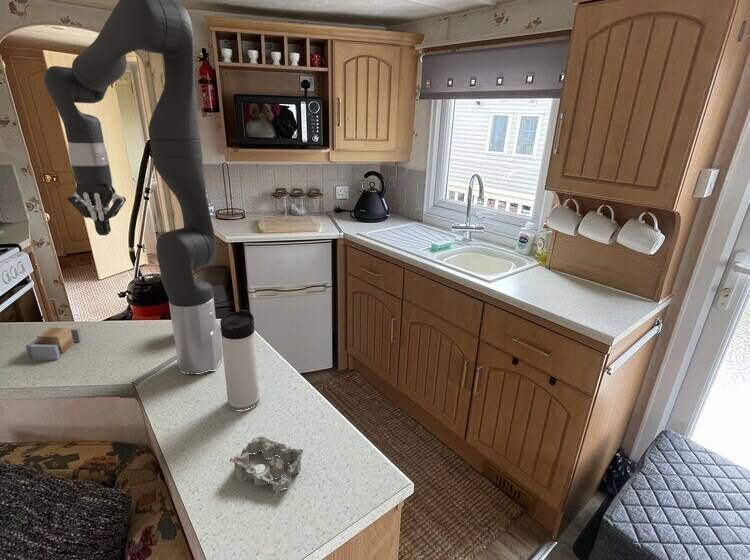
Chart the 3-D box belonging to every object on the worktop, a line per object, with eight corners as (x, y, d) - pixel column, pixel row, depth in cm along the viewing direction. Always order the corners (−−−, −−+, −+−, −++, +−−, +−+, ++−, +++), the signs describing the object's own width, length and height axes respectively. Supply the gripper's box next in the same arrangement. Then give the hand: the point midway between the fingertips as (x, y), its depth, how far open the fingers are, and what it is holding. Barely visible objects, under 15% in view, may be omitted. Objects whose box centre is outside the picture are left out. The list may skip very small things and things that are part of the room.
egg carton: (228, 478, 69) (225, 459, 68) (255, 448, 76) (254, 430, 75) (283, 499, 66) (282, 480, 65) (307, 465, 73) (306, 447, 71)
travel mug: (265, 395, 90) (260, 311, 83) (249, 415, 84) (242, 326, 77) (240, 390, 91) (232, 307, 84) (221, 408, 85) (212, 320, 78)
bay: (82, 340, 108) (79, 328, 107) (57, 359, 99) (54, 346, 98) (56, 339, 108) (53, 327, 107) (29, 359, 99) (25, 346, 98)
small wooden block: (75, 344, 106) (71, 326, 104) (61, 356, 101) (56, 338, 99) (55, 344, 106) (50, 326, 104) (39, 355, 101) (34, 337, 99)
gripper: (127, 162, 101) (138, 231, 108) (71, 160, 101) (85, 230, 107) (110, 165, 94) (123, 239, 101) (49, 163, 94) (66, 237, 100)
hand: (104, 234), depth 104 cm, fingers closed
